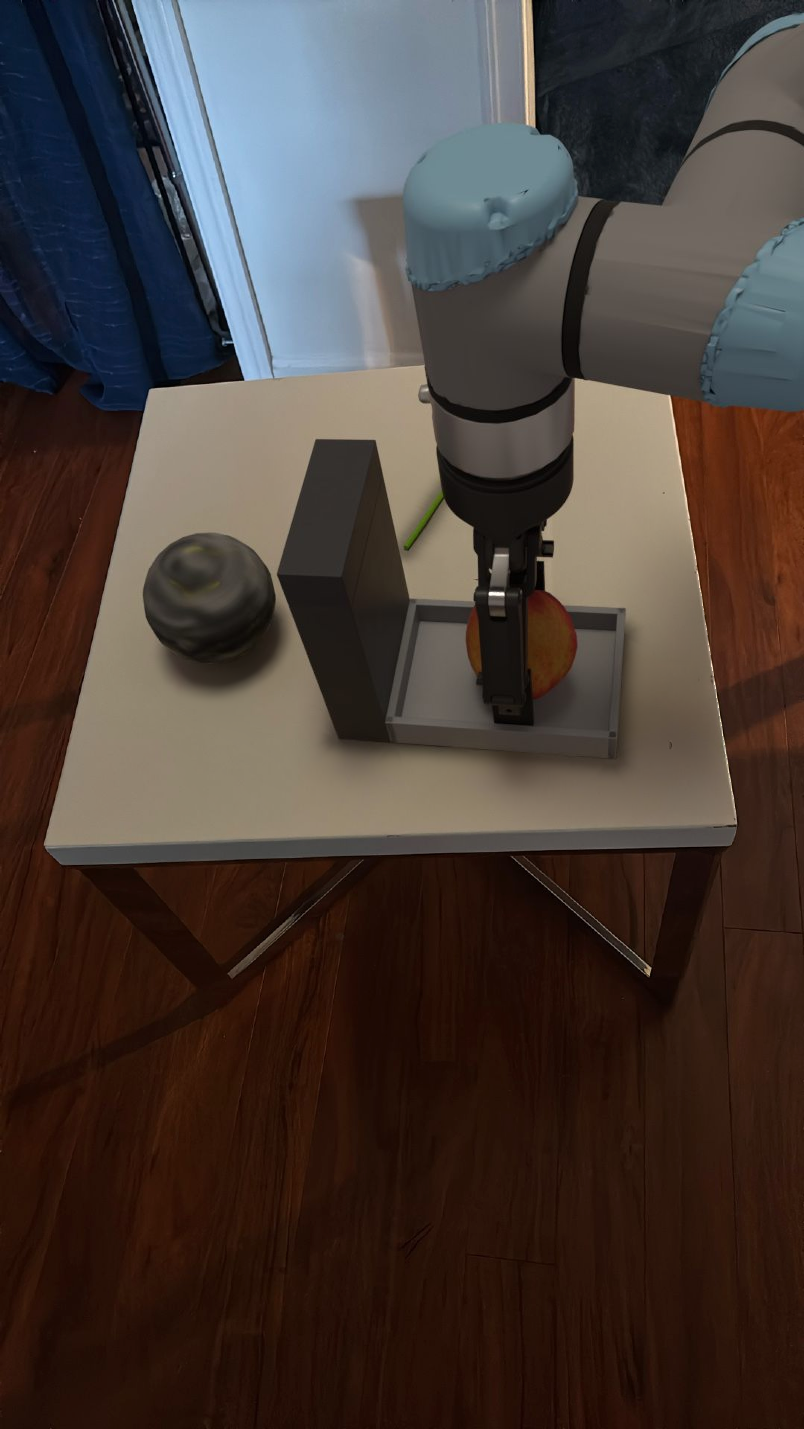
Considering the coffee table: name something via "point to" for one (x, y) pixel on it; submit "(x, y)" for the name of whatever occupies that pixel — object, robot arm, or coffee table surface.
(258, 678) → the coffee table surface
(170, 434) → the coffee table surface
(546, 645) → the fruit
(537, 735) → the tray with tall back
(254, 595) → the decorative stone
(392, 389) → the coffee table surface
